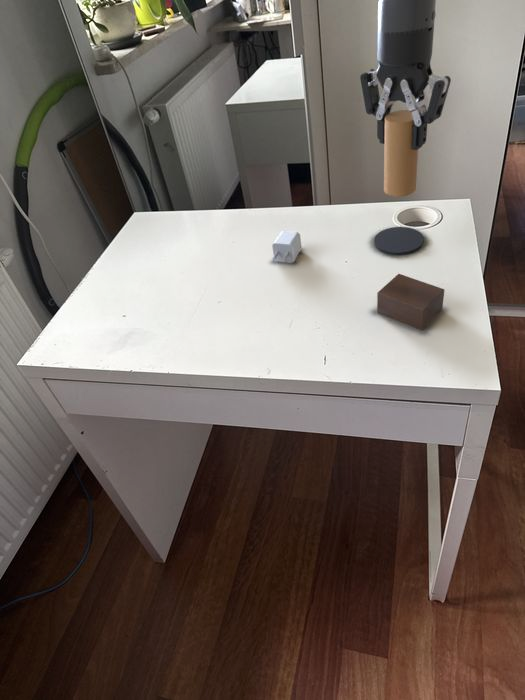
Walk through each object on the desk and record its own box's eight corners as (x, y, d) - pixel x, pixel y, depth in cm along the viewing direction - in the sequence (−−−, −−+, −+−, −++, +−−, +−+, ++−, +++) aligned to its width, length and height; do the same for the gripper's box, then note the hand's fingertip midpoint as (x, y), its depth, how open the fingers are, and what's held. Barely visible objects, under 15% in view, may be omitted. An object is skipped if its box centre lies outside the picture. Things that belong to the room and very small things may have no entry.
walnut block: (397, 293, 86) (398, 273, 83) (442, 309, 82) (444, 289, 79) (377, 312, 83) (377, 292, 81) (422, 330, 79) (423, 310, 76)
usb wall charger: (301, 250, 100) (299, 232, 97) (289, 271, 95) (287, 252, 93) (282, 248, 101) (280, 230, 99) (269, 268, 97) (266, 250, 94)
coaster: (427, 231, 98) (428, 228, 98) (418, 257, 93) (418, 254, 92) (380, 227, 102) (380, 225, 101) (368, 252, 96) (368, 249, 96)
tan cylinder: (415, 132, 89) (387, 96, 80) (443, 137, 86) (418, 100, 77) (386, 200, 91) (356, 173, 81) (412, 206, 88) (384, 179, 78)
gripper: (346, 27, 74) (349, 146, 85) (439, 31, 65) (429, 162, 77) (376, 14, 77) (376, 130, 89) (468, 15, 69) (455, 143, 80)
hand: (401, 144), depth 83 cm, fingers closed on tan cylinder, 5 cm apart
